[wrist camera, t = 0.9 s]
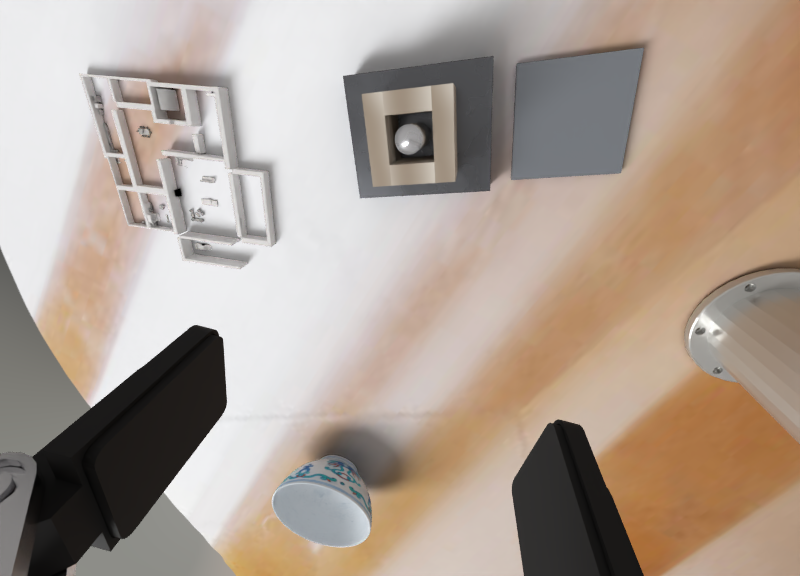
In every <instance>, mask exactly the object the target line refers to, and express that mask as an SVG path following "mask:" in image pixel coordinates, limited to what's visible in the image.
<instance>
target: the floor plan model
mask: <svg viewBox="0 0 800 576" xmlns="http://www.w3.org/2000/svg"><path fill="white" fill-rule="evenodd" d="M79 76H84V77H80V78H81V81H82V84H83V88H84V91H85V94H86V97H87V101H88V104H89V108H90V111H91V114H92V117H93V121H94V124H95V127H96V130H97V134H98V137H99V140H100V143H101V147H102V150H103V153H104V157H105V158H108V161H109V164H110V168H111V171H112V174H113V178H114V181H115V184H116V187H117V191H118V194H119V197H120V201H121V204H122V207H123V210H124V214H125V217H126V220H127V224H128V226H134V227H141V228H148V229H156V230H163V231H170V232H174V234H177V235H178V234H181V233H183V232H186V231H187V230H186V225H185V221H184V214H183V210H182V207H181V203H180V198H179V196H182V195H181V194H182V193H180V189H177V185H176V181H175V176H174V172H173V167H172V163H171V158H163V159H156V160H157V164H158V168H159V172H160V176H161V181H162V185H163V187H160V186H152V185H144V184H143V183H142V179H141V175H140V171H139V168H138V164H137V160H136V156H135V153H134V149H133V145H132V142H131V138H130V134H129V130H128V127H127V123H126V119H125V115H124V112H123V110H111V112H112V115H113V119H114V122H115V126H116V129H117V133H118V136H119V140H120V144H121V147H122V151H123V153H118V152H119V150H114V147H113V144H112V143H111V142H112V140H111V136H110V133H109V129H108V126H107V124H105V123H104V120H103V117H102V115H104V112H103V110H100V108H103V104H100V103H98V102H102V101H101V98H100V96H96V93H95V90H94V86H93V83H92V80H91V77H96V78H107V80H108V84H109V88H110V91H111V95H112V99H113V101H115V102H116V103H117V107H120V108H131V109H141V110H152V111H151V112H152V116H153V120H154V123H164V124H175V125H182V126H202V123H201V118H200V111H199V105H198V100H197V94H196V90H202V91H214V93H206V96H214V98H215V104H216V111H217V117H218V124H219V130H220V136H221V143H222V149H223V156H217V155H209V154H204V153H206V149H205V143H204V138H203V134H192V137H193V142H194V147H195V152H188V151H180V150H173V149H169V150H161V152H162V155H166V156H175V159H176V160H177V161H176V163H178V165H180V166H182V162H181V161H182V160H189V161H194V160H193V159H202V160H211V161H220V162H224V163H225V169H232V172H231V173H228V177H229V183H230V190H231V196H232V203H233V209H234V216H235V223H236V229H237V236H238V237H242V239H241V240H242V243H247V244H254V245H261V246H269V247H272V246H273V245H275V244H276V240H275V230H274V220H273V210H272V200H271V189H270V179H269V171H265V170H256V169H247V168H239V167H238V160H237V152H236V145H235V138H234V131H233V123H232V116H231V109H230V102H229V94H228V88H224V87H213V86H212V87H208V86H195V85H183V84H171V83H159V82H158V80H151V79H139V78H127V77H115V76H102V75H90V74H79ZM118 80H129V81H142V82H146V84H147V88H148V92H149V97H150V101H151V104H142V103H131V102H123V98H122V94H121V91H120V87H119V83H118ZM161 87H166V88H178V89H181V96H182V99H183V104H184V110H185V117H186V120H177V119H168V116H167V111H166V110H171V111H180V109H179V104H178V99H177V94H176V90H170V89H165V88H161ZM140 128H142V127H141V126H140ZM140 128H138V132H139V134H144V135H145V137H147V136H146V135H151V134H149V131H148V130H150V129H148V128H147V127H146V129H140ZM143 128H144V127H143ZM136 132H137V130H136ZM150 133H151V132H150ZM144 135H142V136H141V137H144ZM148 137H150V136H148ZM148 137H147V138H148ZM116 158H118V161H119V158H125V160H124V161H126V163H127V167H128V171H129V174H130V178H131V181H132V185H128V184H123V182H122V178H121V175H120V172H119V168H118V165H117V163H121V162H120V161H119V162H118V161H117V159H116ZM184 166H185V165H184ZM185 167H186V166H185ZM187 168H188V167H187ZM239 175H248V176H256V177H260V181H261V190H262V199H263V208H264V217H265V226H266V235H267V237H262V236H255V235H248V234H247V229H246V222H245V215H244V207H243V200H242V193H241V186H240V179H239ZM200 181H201V182H208V183H215V178H211V177H202V180H200ZM125 190H126V191H133V192H137V193H138V196H139V200H140V204H141V207H142V211H143V214H144V218H145V221H146V222H145V221H142V223H144V222H145V224H142V223H134V219H133V216H132V212H131V209H130V206H129V202H128V199H127V195H126V192H125ZM146 193H147V194H155V195H163V196H165V197H166V201H167V205H168V210H169V214H170V218H171V222H172V226H173V228H170V227H163V226H158V225H157V223H156V222H157V221H161V220H160V216H159V214H156V213H153V212H152V211H153V206H152V204H150V202H148V198H147V194H146ZM202 205H209V206H217V207H218V204H217V201H214V200H212V199H202ZM159 208H161V209H164V208H165V206H163V205H160V206H159ZM197 211H198V212H200V213H201V215H202V216H203V215H204V213H202V212H201V211H200V209H198V210H197ZM190 212H191V216H192V219H191V220H192V221H197V222H198V221H200V222H203V220H202V219H201V220H199V219H194V214H193V210H192V209H191V210H190ZM196 215H197V216H198V217H200V215H199V214H198V213H196ZM166 216H167V222H169V219H168V215H166ZM177 239H178V243H179V247H180V251H181V255H182V260H183V261H189V262H195V263H202V264H208V265H215V266H221V267H228V268H234V269H241V268H242V267H244V266H245V265H247V262H245V261H239V260H232V259H226V258H219V257H212V256H206V255H199V254H194V250H193V245H192V241H191V240H197V241H204V242H211V243H218V244H225V245H233V244H235V243H237V242H239V241H240V239H239V238H232V237H225V236H218V235H211V234H204V233H197V232H190V231H189V232H187V233H185V234H182V235H180V237H178V238H177ZM196 247H197V249H199V250H208V251H210V250H211V249H212V247H211V245H209V244H202V243H196V244H195V248H196ZM197 249H196V250H197Z"/></svg>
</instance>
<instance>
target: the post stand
mask: <svg viewBox="0 0 800 576" xmlns="http://www.w3.org/2000/svg"><path fill="white" fill-rule="evenodd" d="M343 79H344V87H345V94H346V101H347V108H348V115H349V122H350V129H351V136H352V144H353V151H354V158H355V165H356V172H357V179H358V186H359V194H360V198H372V197H390V196H408V195H425V194H443V193H461V192H479V191H490V169H491V126H492V83H493V56H491V57H483V58H476V59H468V60H460V61H453V62H445V63H438V64H430V65H423V66H415V67H408V68H400V69H393V70H385V71H378V72H370V73H363V74H355V75H347V76H343ZM450 83H454V85H455V87H456V112H457V171H458V172H457V176H456V181H455V182H444V183H428V184H412V185H396V186H380V187H373V183H372V175H371V167H370V159H369V150H368V142H367V134H366V126H365V118H364V110H363V101H362V94H366V93H375V92H383V91H391V90H400V89H408V88H416V87H425V86H433V85H441V84H450ZM398 126H399V129H398V130H397V132H396V135H395V144H396V147H397V149H398V150H399V151H400V152H401V158H408V157H420V156H433V155H434V144H433V122H432V112H424V113H414V114H405V115H398Z"/></svg>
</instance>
